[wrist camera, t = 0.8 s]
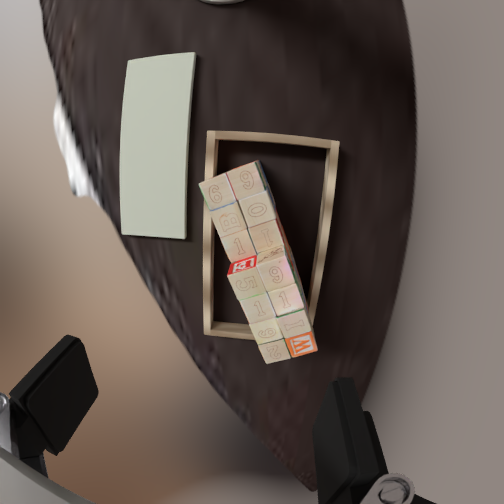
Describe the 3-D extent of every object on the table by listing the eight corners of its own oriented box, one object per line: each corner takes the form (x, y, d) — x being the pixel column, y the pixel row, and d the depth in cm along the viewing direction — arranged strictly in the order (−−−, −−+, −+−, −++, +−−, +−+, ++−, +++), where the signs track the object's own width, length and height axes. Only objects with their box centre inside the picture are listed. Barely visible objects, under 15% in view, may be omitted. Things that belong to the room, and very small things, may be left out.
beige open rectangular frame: (211, 132, 34) (207, 130, 31) (334, 142, 33) (339, 141, 31) (207, 325, 44) (204, 334, 41) (307, 333, 43) (308, 343, 41)
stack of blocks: (215, 175, 36) (189, 185, 24) (260, 159, 35) (254, 160, 23) (267, 311, 42) (265, 366, 31) (307, 300, 41) (318, 352, 30)
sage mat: (131, 62, 30) (128, 60, 29) (196, 54, 30) (194, 52, 29) (124, 232, 39) (121, 234, 38) (186, 236, 39) (184, 238, 38)
